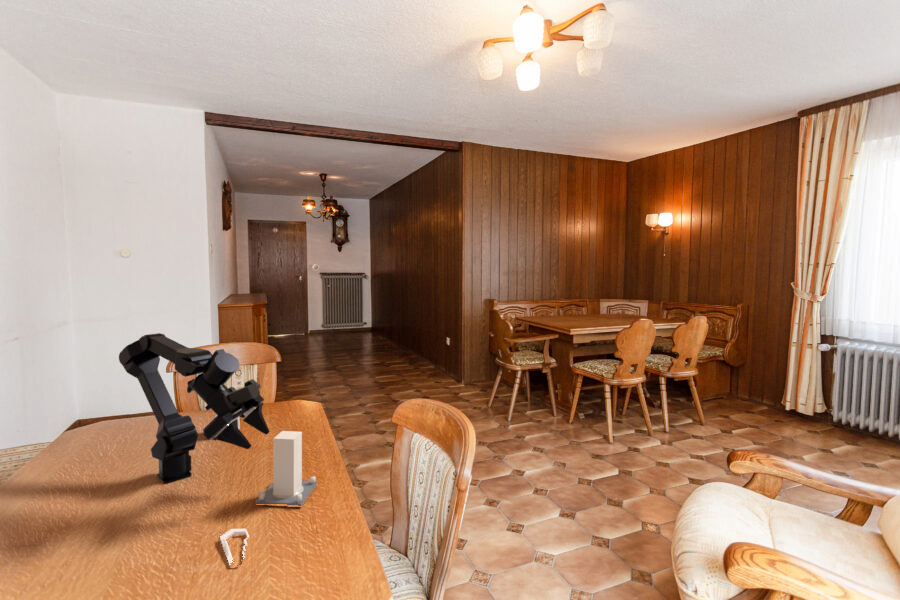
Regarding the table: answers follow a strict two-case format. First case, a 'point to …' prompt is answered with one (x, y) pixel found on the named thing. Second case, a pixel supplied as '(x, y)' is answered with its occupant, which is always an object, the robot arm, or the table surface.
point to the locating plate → (297, 499)
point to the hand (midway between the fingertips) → (259, 440)
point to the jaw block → (287, 463)
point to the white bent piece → (225, 545)
